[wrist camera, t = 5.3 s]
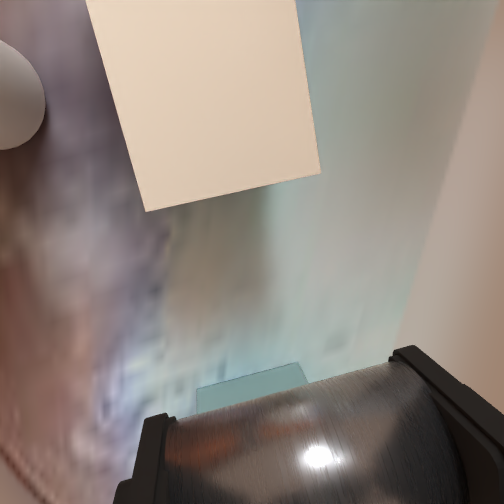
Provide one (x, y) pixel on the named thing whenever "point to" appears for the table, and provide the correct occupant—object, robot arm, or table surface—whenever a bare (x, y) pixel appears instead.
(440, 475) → the roller
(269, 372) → the block
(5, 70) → the beverage can
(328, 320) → the table surface
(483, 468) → the robot arm
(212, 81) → the slab
